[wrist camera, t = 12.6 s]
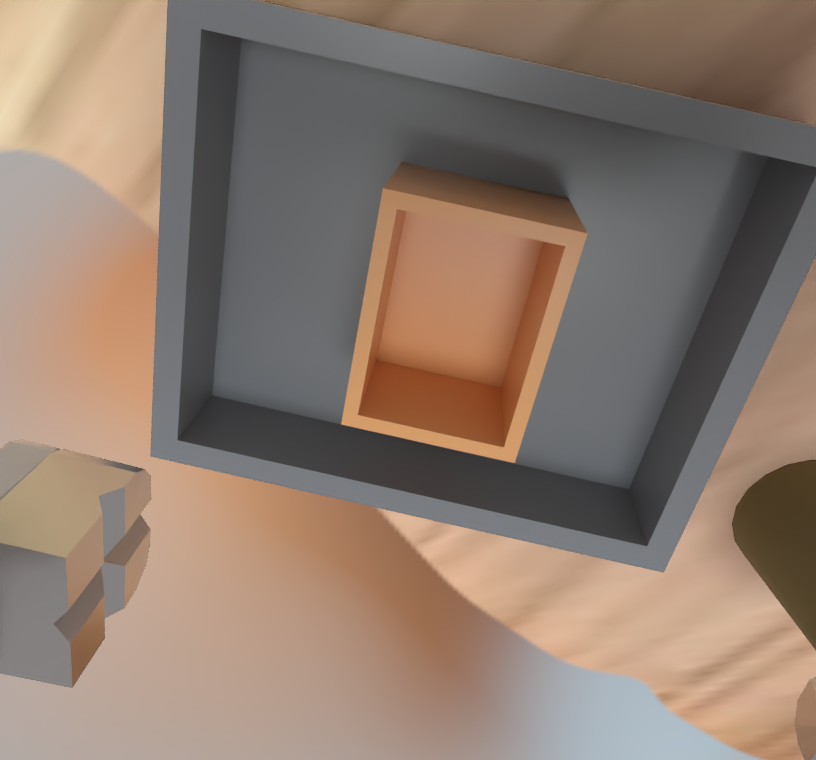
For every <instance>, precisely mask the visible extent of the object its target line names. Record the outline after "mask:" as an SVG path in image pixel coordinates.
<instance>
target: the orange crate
mask: <svg viewBox="0 0 816 760" xmlns="http://www.w3.org/2000/svg"><path fill="white" fill-rule="evenodd" d="M587 234H588V233H587V231H586V229H585V227H584V226H583V224H582V222H581V220H580V218H579V216H578V215H577V213H576V211H575V209H574V207H573V205H572V203H571V202H570V200H569V198H564V197H560V196H555V195H551V194H546V193H542V192H537V191H533V190H528V189H524V188H519V187H515V186H510V185H506V184H501V183H496V182H492V181H487V180H483V179H478V178H474V177H469V176H465V175H460V174H456V173H451V172H447V171H442V170H438V169H433V168H429V167H424V166H420V165H415V164H411V163H406V162H401V163H400V165H399V166H398V168H397V169H396V170H395V172H394V173H393V175H392V176H391V177H390V179H389V180H388V182H387V183H386V185H385V186H384V187H383V191H382V196H381V202H380V208H379V213H378V219H377V225H376V230H375V236H374V242H373V247H372V253H371V258H370V264H369V270H368V275H367V281H366V287H365V292H364V298H363V304H362V309H361V315H360V321H359V326H358V332H357V337H356V343H355V349H354V354H353V360H352V366H351V371H350V377H349V383H348V388H347V394H346V400H345V405H344V411H343V417H342V422H341V425H346V426H350V427H355V428H359V429H364V430H368V431H373V432H377V433H382V434H386V435H391V436H395V437H400V438H404V439H409V440H413V441H418V442H422V443H427V444H431V445H436V446H440V447H445V448H449V449H454V450H458V451H463V452H467V453H472V454H476V455H481V456H485V457H490V458H494V459H499V460H503V461H507V462H512V463H515V460H516V457H517V454H518V451H519V448H520V445H521V442H522V438H523V435H524V432H525V429H526V426H527V423H528V420H529V416H530V413H531V410H532V407H533V404H534V401H535V398H536V394H537V391H538V388H539V385H540V382H541V379H542V376H543V372H544V369H545V366H546V363H547V360H548V357H549V354H550V350H551V347H552V344H553V341H554V338H555V335H556V332H557V328H558V325H559V322H560V319H561V316H562V313H563V309H564V306H565V303H566V300H567V297H568V294H569V291H570V287H571V284H572V281H573V278H574V275H575V272H576V269H577V265H578V262H579V259H580V256H581V253H582V250H583V247H584V243H585V240H586V237H587Z"/></svg>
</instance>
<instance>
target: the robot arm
mask: <svg viewBox="0 0 816 760" xmlns="http://www.w3.org/2000/svg"><path fill="white" fill-rule="evenodd" d="M150 500H151V476H150V475H149V473H148V472H147V471H146V470H145V469H142V468H138V467H133V466H130V465H126V464H122V463H118V462H114V461H110V460H106V459H102V458H98V457H94V456H90V455H86V454H82V453H78V452H74V451H70V450H66V449H62V450H61V449H59V448H56V447H51V446H48V445H44V444H39V443H35V442H31V441H27V440H23V439H20V440H15V441H11V442H8V443H7V444H5V445H4V446H3V447H2V448H0V673H2V674H7V675H11V676H16V677H21V678H26V679H31V680H36V681H41V682H46V683H51V684H56V685H61V686H66V687H71V688H72V687H73V686H74V685H75V683H76V682H77V680H78V678H79V677H80V675H81V674H82V672H83V671H84V669H85V668H86V666H87V665H88V663H89V662H90V660H91V659H92V657H93V656H94V654H95V653H96V651H97V650H98V648H99V647H100V645H101V644H102V642H103V640H104V639H105V618H106V617H108V616H110V615H112V614H114V613H116V612H118V611H120V610H122V609H124V608H125V606H126V605H127V603H128V602H129V600H130V598H131V597H132V595H133V594H134V592H135V590H136V589H137V586H138V584H139V581H140V579H141V576H142V573H143V571H144V569H145V566H146V562H147V557H148V552H149V547H150V528H149V526H148V525H147V523H146V522H145V521H144V519H143V518H142V516H141V515H140V514H141V512H142V511H143V510H144V508H145V507H146V505H147V504H148V503H149V501H150ZM795 728H796V734H797V740H798V745H799V747H800V750H801V752H802V755H803V757H804V760H816V677H815V678H812V679H810V680H809V682H808V683H807V685H806V687H805V689H804V690H803V692H802V694H801V695H800V697H799V699H798V701H797V709H796V718H795Z"/></svg>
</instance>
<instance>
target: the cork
mask: <svg viewBox="0 0 816 760" xmlns="http://www.w3.org/2000/svg"><path fill="white" fill-rule="evenodd" d="M732 526H733V532H734V538H735V542H736V543H737V545H738V546H739V548H740V549H741V551H742V552H743V554H744V555H745V557H746V558H747V559H748V561H749V562H750V563H751V565H752V566H753V567H754V569H755V570H756V571H757V573H758V574H759V575H760V577H761V578H762V579H763V581H764V582H765V583H766V585H767V586H768V587H769V589H770V590H771V591H772V593H773V594H774V595H775V597H776V598H777V599H778V601H779V602H780V603H781V605H782V606H783V607H784V609H785V610H786V611H787V613H788V614H789V615H790V616H791V618H792V619H793V620H794V622H795V623H796V624H797V626H798V627H799V628H800V630H801V631H802V632H803V634H804V635H805V636H806V638H807V639H808V640H809V642H810V643H811V644H812V646H813V647H814V648H815V650H816V460H810V461H805V462H800V463H795V464H790V465H786V466H784V467H782V468H780V469H778V470H776V471H774V472H771V473H769V474H767V475H765V476H764V477H763V478H762V479H760V480H759V481H758V482H757V483H755V484H754V485H753V486H752V487H751V488H749V489H748V490H747V492H746V493H745V495H744V496H743V498H742V499H741V501H740V502H739V504H738V505H737V507H736V511H735V515H734V519H733V523H732Z"/></svg>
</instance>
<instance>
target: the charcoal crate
mask: <svg viewBox="0 0 816 760" xmlns="http://www.w3.org/2000/svg"><path fill="white" fill-rule="evenodd" d="M401 162H406V163H411V164H415V165H420V166H424V167H429V168H433V169H438V170H442V171H447V172H451V173H456V174H460V175H465V176H469V177H474V178H478V179H483V180H487V181H492V182H496V183H501V184H506V185H510V186H515V187H519V188H524V189H528V190H533V191H537V192H542V193H546V194H551V195H555V196H560V197H564V198H569V200H570V202H571V203H572V205H573V207H574V209H575V211H576V213H577V215H578V216H579V218H580V220H581V222H582V224H583V226H584V227H585V229H586V231H587V233H588V234H587V237H586V240H585V243H584V247H583V250H582V253H581V256H580V259H579V262H578V265H577V269H576V272H575V275H574V278H573V281H572V284H571V287H570V291H569V294H568V297H567V300H566V303H565V306H564V309H563V313H562V316H561V319H560V322H559V325H558V328H557V332H556V335H555V338H554V341H553V344H552V347H551V350H550V354H549V357H548V360H547V363H546V366H545V369H544V372H543V376H542V379H541V382H540V385H539V388H538V391H537V394H536V398H535V401H534V404H533V407H532V410H531V413H530V416H529V420H528V423H527V426H526V429H525V432H524V435H523V438H522V442H521V445H520V448H519V451H518V454H517V457H516V460H515V463H512V462H507V461H503V460H499V459H494V458H490V457H485V456H481V455H476V454H472V453H467V452H463V451H458V450H454V449H449V448H445V447H440V446H436V445H431V444H427V443H422V442H418V441H413V440H409V439H404V438H400V437H395V436H391V435H386V434H382V433H377V432H373V431H368V430H364V429H359V428H355V427H350V426H346V425H341V422H342V417H343V411H344V405H345V400H346V394H347V388H348V383H349V377H350V371H351V366H352V360H353V354H354V349H355V343H356V337H357V332H358V326H359V321H360V315H361V309H362V304H363V298H364V292H365V287H366V281H367V275H368V270H369V264H370V258H371V253H372V247H373V242H374V236H375V230H376V225H377V219H378V213H379V208H380V202H381V196H382V191H383V187H384V186H385V185H386V183H387V182H388V180H389V179H390V177H391V176H392V175H393V173H394V172H395V170H396V169H397V168H398V166H399V165H400V163H401ZM158 245H159V247H158V271H157V272H158V274H157V297H156V325H155V350H154V352H155V353H154V377H153V403H152V404H153V405H152V429H151V430H152V431H151V455H150V456H151V457H155V458H160V459H165V460H169V461H174V462H178V463H182V464H186V465H191V466H195V467H200V468H204V469H209V470H213V471H218V472H222V473H227V474H231V475H235V476H240V477H244V478H249V479H253V480H258V481H262V482H266V483H270V484H275V485H280V486H284V487H288V488H292V489H297V490H301V491H306V492H310V493H315V494H319V495H323V496H328V497H332V498H337V499H341V500H346V501H350V502H354V503H359V504H363V505H368V506H372V507H376V508H381V509H385V510H390V511H394V512H399V513H403V514H407V515H412V516H416V517H421V518H425V519H429V520H434V521H438V522H443V523H447V524H452V525H456V526H460V527H465V528H469V529H474V530H478V531H483V532H487V533H491V534H496V535H500V536H505V537H509V538H513V539H518V540H522V541H527V542H531V543H536V544H540V545H544V546H549V547H553V548H558V549H562V550H567V551H571V552H575V553H580V554H584V555H589V556H593V557H597V558H602V559H606V560H611V561H615V562H620V563H624V564H628V565H633V566H637V567H642V568H646V569H651V570H655V571H659V572H664V571H665V569H666V567H667V564H668V562H669V560H670V558H671V556H672V554H673V552H674V550H675V548H676V546H677V544H678V542H679V539H680V537H681V535H682V533H683V531H684V529H685V527H686V525H687V523H688V521H689V519H690V517H691V514H692V512H693V510H694V508H695V506H696V504H697V502H698V500H699V498H700V496H701V494H702V492H703V489H704V487H705V485H706V483H707V481H708V479H709V477H710V475H711V473H712V471H713V469H714V467H715V464H716V462H717V460H718V458H719V456H720V454H721V452H722V450H723V448H724V446H725V444H726V442H727V439H728V437H729V435H730V433H731V431H732V429H733V427H734V425H735V423H736V421H737V419H738V417H739V414H740V412H741V410H742V408H743V406H744V404H745V402H746V400H747V398H748V396H749V394H750V392H751V389H752V387H753V385H754V383H755V381H756V379H757V377H758V375H759V373H760V371H761V369H762V367H763V364H764V362H765V360H766V358H767V356H768V354H769V352H770V350H771V348H772V346H773V344H774V342H775V339H776V337H777V335H778V333H779V331H780V329H781V327H782V325H783V323H784V321H785V319H786V317H787V314H788V312H789V310H790V308H791V306H792V304H793V302H794V300H795V298H796V296H797V294H798V292H799V289H800V287H801V285H802V283H803V281H804V279H805V277H806V275H807V273H808V271H809V269H810V267H811V264H812V262H813V260H814V258H815V256H816V126H815V125H811V124H807V123H803V122H798V121H794V120H789V119H785V118H780V117H776V116H772V115H767V114H763V113H758V112H754V111H749V110H745V109H740V108H736V107H732V106H727V105H723V104H718V103H714V102H709V101H705V100H700V99H696V98H691V97H687V96H683V95H678V94H674V93H669V92H665V91H660V90H656V89H651V88H647V87H643V86H638V85H634V84H629V83H625V82H620V81H616V80H611V79H607V78H602V77H598V76H594V75H589V74H585V73H580V72H576V71H571V70H567V69H562V68H558V67H554V66H549V65H545V64H540V63H536V62H531V61H527V60H522V59H518V58H513V57H509V56H505V55H500V54H496V53H491V52H487V51H482V50H478V49H473V48H469V47H465V46H460V45H456V44H451V43H447V42H442V41H438V40H433V39H429V38H425V37H420V36H416V35H411V34H407V33H402V32H398V31H393V30H389V29H384V28H380V27H376V26H371V25H367V24H362V23H358V22H353V21H349V20H344V19H340V18H336V17H331V16H327V15H322V14H318V13H313V12H309V11H304V10H300V9H295V8H291V7H287V6H282V5H278V4H273V3H269V2H264V1H260V0H168V7H167V33H166V60H165V86H164V113H163V139H162V165H161V192H160V218H159V244H158Z"/></svg>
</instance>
